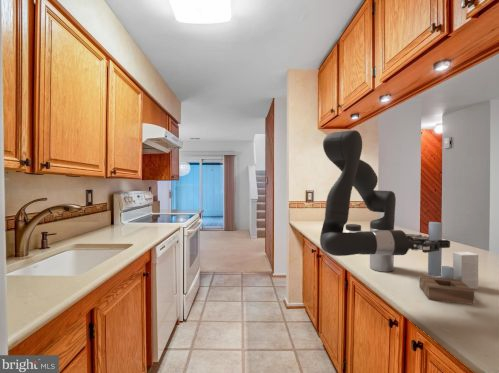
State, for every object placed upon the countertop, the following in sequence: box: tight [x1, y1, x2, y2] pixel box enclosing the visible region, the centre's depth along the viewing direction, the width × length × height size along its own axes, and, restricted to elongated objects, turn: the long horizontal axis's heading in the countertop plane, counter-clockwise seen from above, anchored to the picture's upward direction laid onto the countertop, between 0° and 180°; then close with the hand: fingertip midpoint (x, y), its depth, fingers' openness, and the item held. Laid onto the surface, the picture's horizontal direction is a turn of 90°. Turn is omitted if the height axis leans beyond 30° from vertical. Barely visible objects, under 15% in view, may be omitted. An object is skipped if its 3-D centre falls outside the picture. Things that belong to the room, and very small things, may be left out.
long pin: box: [427, 221, 443, 278], centre depth 83 cm, size 3×3×16 cm
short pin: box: [441, 265, 454, 279], centre depth 96 cm, size 3×3×7 cm
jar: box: [344, 223, 363, 233], centre depth 153 cm, size 9×8×12 cm
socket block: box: [418, 275, 475, 305], centre depth 90 cm, size 10×12×4 cm
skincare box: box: [452, 251, 479, 290], centre depth 96 cm, size 6×4×12 cm
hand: (444, 242), depth 83 cm, fingers closed on long pin, 3 cm apart
